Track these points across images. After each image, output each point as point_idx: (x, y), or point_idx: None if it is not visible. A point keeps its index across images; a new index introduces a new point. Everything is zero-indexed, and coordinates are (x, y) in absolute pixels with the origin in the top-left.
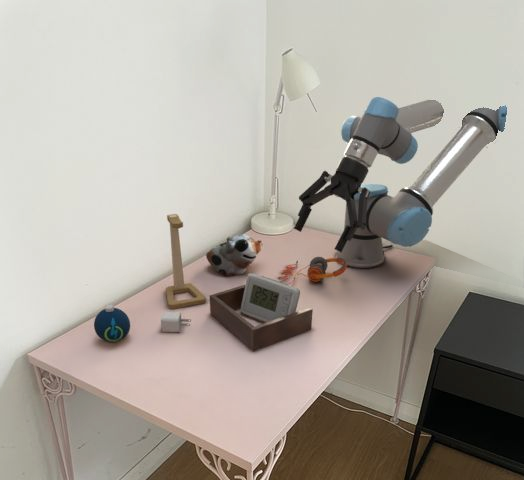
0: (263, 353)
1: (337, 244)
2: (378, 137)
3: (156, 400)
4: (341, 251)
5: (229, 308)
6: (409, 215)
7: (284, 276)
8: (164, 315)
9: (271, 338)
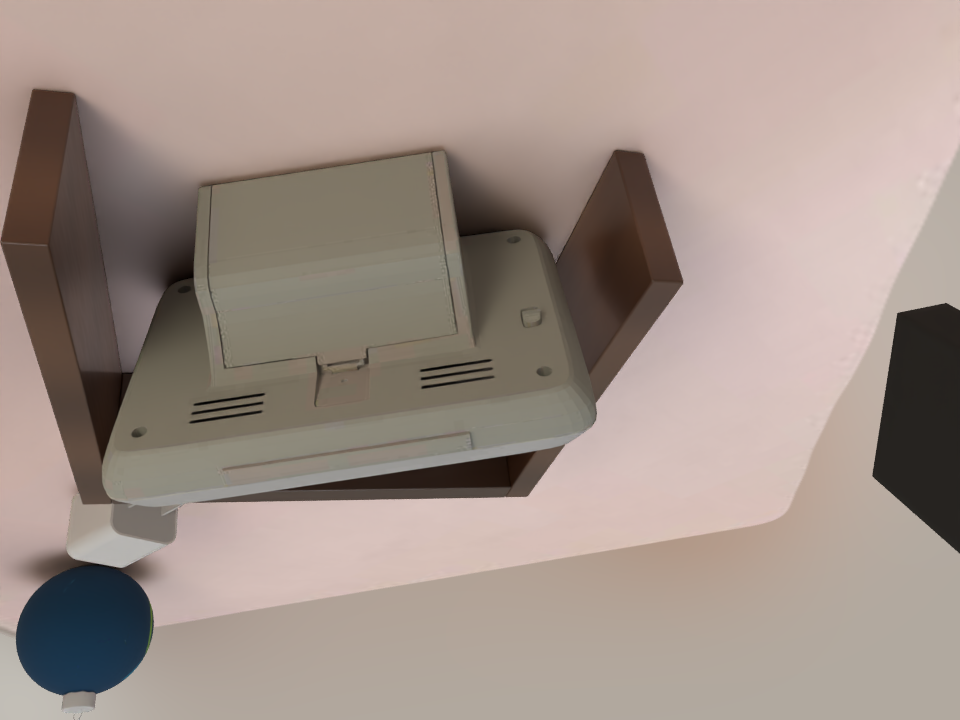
0: None
1: (947, 528)
2: None
3: (461, 561)
4: (957, 315)
5: (288, 494)
6: None
7: None
8: (107, 560)
9: None
